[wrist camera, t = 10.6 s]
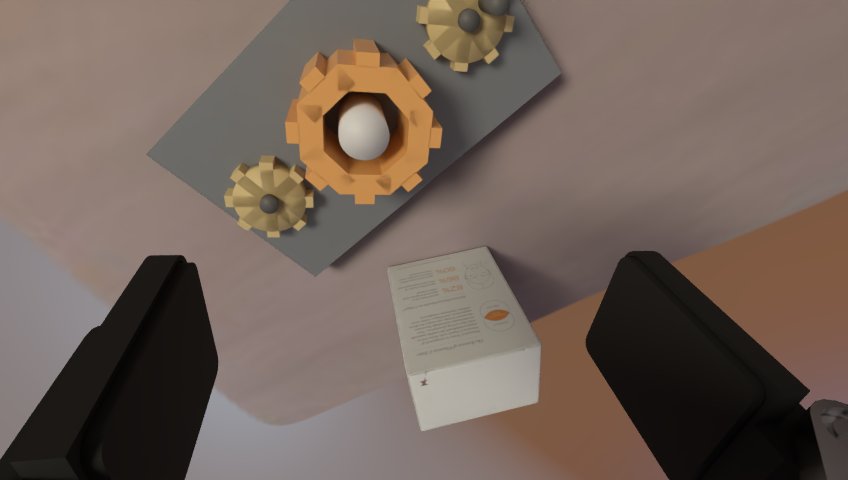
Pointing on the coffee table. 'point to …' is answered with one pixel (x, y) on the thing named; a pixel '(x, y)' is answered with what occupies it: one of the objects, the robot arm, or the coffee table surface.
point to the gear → (322, 146)
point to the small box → (463, 338)
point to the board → (277, 84)
